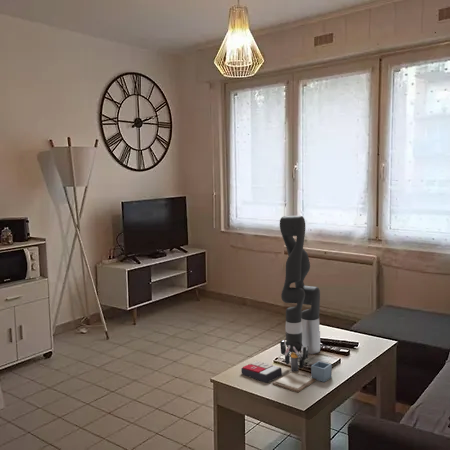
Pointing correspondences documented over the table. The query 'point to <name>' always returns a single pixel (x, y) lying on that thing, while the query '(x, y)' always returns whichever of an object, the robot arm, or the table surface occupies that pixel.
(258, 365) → the dark grey box
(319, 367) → the pen cup
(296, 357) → the marker
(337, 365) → the table surface
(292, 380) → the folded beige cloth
